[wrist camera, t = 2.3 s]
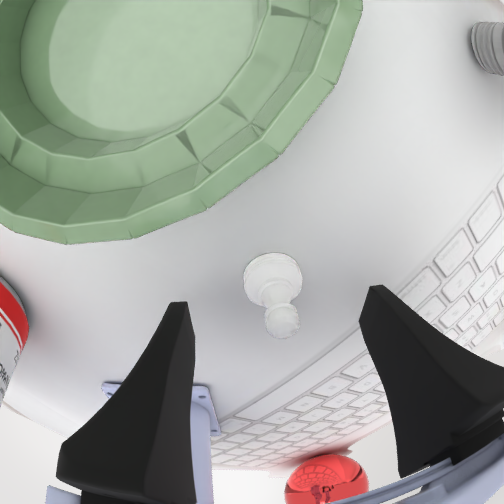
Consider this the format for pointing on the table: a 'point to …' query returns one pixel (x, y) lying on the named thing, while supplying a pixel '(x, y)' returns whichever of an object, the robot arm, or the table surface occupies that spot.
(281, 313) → the chess pawn
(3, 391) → the beer can
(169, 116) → the basin
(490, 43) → the light bulb
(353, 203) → the table surface
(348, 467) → the ball
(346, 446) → the table surface
